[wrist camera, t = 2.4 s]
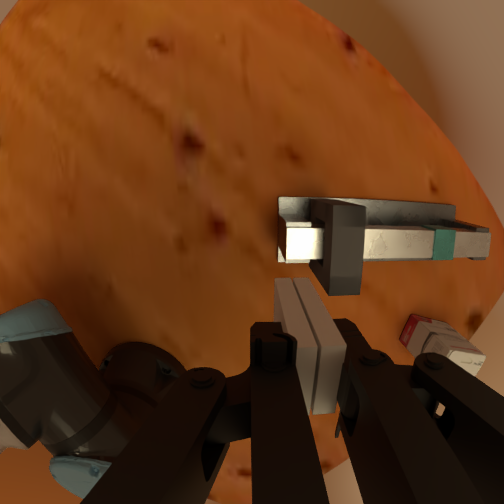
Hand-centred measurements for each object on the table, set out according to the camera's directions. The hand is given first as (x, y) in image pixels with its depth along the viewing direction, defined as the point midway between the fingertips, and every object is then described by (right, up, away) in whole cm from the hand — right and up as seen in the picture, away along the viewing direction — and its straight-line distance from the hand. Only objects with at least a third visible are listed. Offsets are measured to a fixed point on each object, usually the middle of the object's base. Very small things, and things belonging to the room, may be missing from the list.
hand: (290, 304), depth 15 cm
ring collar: (+6, +5, +21) cm, 22 cm away
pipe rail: (+14, +5, +24) cm, 28 cm away
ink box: (+25, -10, +28) cm, 39 cm away
